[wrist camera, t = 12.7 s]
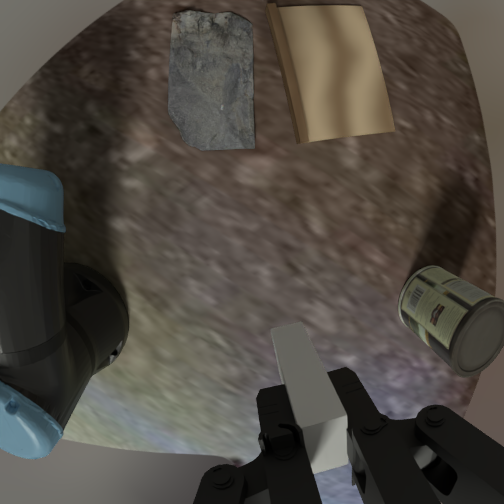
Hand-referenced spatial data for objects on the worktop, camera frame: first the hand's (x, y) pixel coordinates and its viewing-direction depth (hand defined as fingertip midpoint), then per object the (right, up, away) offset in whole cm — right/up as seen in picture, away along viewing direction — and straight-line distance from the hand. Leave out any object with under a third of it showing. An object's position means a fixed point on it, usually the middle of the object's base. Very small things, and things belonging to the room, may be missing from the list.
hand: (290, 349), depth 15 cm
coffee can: (+24, -2, +28) cm, 37 cm away
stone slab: (-1, +25, +18) cm, 31 cm away
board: (+8, +27, +19) cm, 34 cm away
